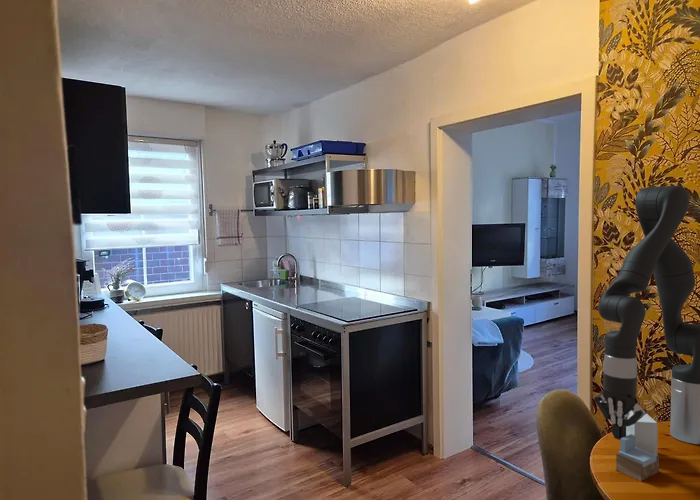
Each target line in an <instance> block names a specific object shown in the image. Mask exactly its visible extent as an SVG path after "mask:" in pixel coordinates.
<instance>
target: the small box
mask: <svg viewBox="0 0 700 500" xmlns="http://www.w3.org/2000/svg"><path fill="white" fill-rule="evenodd" d="M632 415H633V410H631V411H630V413H629V416H628V419H629V418H630V417H631V416H632ZM658 425H659V424H658V421H656V420H655V419H653V417H651V416H650V415H649V414H648V412H647V413H646V414H645V415H644V416H643V417H642V418H641V419H639V420H638V421H637V422H636V423H635V424H633V425H631V426H626V436H628V435H630V434H632V435H634V436H636V447H637V448H640V449H642V450H645V451H647V452H650V453H653V454H655V455H658V433H659V432H658V430H659V429H658V427H659V426H658Z"/></svg>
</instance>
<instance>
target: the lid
mask: <svg viewBox="0 0 700 500" xmlns="http://www.w3.org/2000/svg"><path fill="white" fill-rule="evenodd" d="M619 446H620V447H619V448H620V449H619V451H618V454H620V455H622V456H625V457H627V458H630V459H632V460H634V461H637V462H639V463H642V467H645V466H647V465H649V464H651V463H653V462H655V461H657V455H658V454H657V455H655V454H652V453H649V452H647V451H644V450H642V449H639V448H637V447H636V436H634V435H632V434H630V435H628V436H625V437H623V438H620V440H619Z"/></svg>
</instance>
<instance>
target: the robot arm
mask: <svg viewBox="0 0 700 500" xmlns="http://www.w3.org/2000/svg"><path fill="white" fill-rule="evenodd" d="M634 203H635V210H636V211H635V212H636V215H637V218H638V221H639V222H638V223H639V224H640V226H641V230H642V233H643V239H641V240H640V241H639V242H638V243H636V244H635V246H633V247H632V248H631V249H630V251H629V252H628V253H627V254H626V256H625V258H624V260H623V262H622V265H621V267H620V269H619V272H618V274H617V276H616V278H615V279H614V280H613V281H612V282H611V284H610V285H609V286H608V288H606V290H605V291H604V292H603V294H602V295H601V297H600V299H599V301H598V306H597V309H598V313H599V316H600V317H601V318H602V319H603V320H605V321H608V322H613V323H619V324H621V326H620V329H619V330H609V331H608V332H606V334H605V336H604V337H605V338H604V356H603V367H602V369H603V371H602V372H603V375H602V377H603V379H602V380H603V381H602V383H603V384H602V388H603V391H602V394H601V395H598V396H595V397H593V398H594V399H593V400H594V403H596V405H597V407H598V409H599V410H600V412H601V413H602V415H603V417H604V419H606V420H609V421H610V422H611V425H612V426H611V427H612V428H611V432H612V433H611V434H612V436H613V438H614V439H616V440H618V441H620V438H623V437H625V436H626V426H631V425H633V424H635V423H636V422H637V421H638V420H639V419H641V418H642V417H643V416H644V415H645V414H646V413H647V414H648V410H646V409H645V408H642V407H641V406H640V405H639V400H638V398H637V392H638V361H637V341H638V337H639V336H640V332H641V329H642V327H643V323H644V320H645V317H646V307H645V305H644V303H643V301H642V300H641V299H639V298H638V297H635V296H630V295H631V294H635V293H641V292H644V291H646V290H647V288H648V286H649V283H650V281H651V278H652V276H653V277H654V281H655V285H656V289H657V290H656V291H657V293H658V297H659V298H658V299H659V301H660V302H659V303H660V307H661V315H662V316H661V317H662V324H663V332H664V333H663V334H664V340H665V344H666V347H667V348H668V350H669V351H671V352H672V353H675V354H679V355H683V356H689V357H692V361H691V363H688V364H679V365H675V366H672V368H671V381H670V384H671V386H670V387H671V389H670V393H671V394H670V429H669V430H670V431H669V432H670V433H669V434H670V436H671V437H672V438H674V439H676V440H678V441H680V442H683V443H687V444H692V445H700V324H694V323H688V322H684V320H683V317H682V309H683V306H684V305H685V303H686V301H687V300H688V299H689V297H690V296H691V294H692V293H693V291H694V288H695V286H696V277H695V273H694V268H693V263H692V260H691V259H690V257H689V255H688V254H687V253H686V252H685V251H684V250H683V248H681V246H680V245H679V244H678V243H676V241H674V239H673V237H674V234H675V233H676V231H677V230H678V228H679V226H680V224H682V221H683V219H684V218H685V216H686V215H687V212H688V209H689V206H690V196H689V193H688V191H687V189H685V187H682V186H681V185H663V186H647V187H643V188H641V189H639V191H638V192H637V193H636V196H635V202H634ZM630 411H633V415H632V416H631V417H630V418H629V419H628V416H629V413H630Z"/></svg>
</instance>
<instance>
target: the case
mask: <svg viewBox="0 0 700 500" xmlns="http://www.w3.org/2000/svg"><path fill="white" fill-rule="evenodd" d="M639 449H640V448H639ZM644 451H645V450H644ZM649 453H650V452H649ZM652 454H653V453H652ZM659 460H660V456H659V455H658V454H657V461H655V462H653V463H651V464H649V465H647V466H645V467H642V463H639V462H637V461H634V460H632V459H630V458H627V457H625V456H622V455H620V454H619V453H616V461H615V462H616V463H615V465H616V466H615V467H616V468H615V470H616V472H619V473H621V474H623V475H625V476H628V477H631V478H633V479H635V480H637V481H639V482H642V481H644V480H647V479H648V478H651V477H652V476H654V475H656V474H658V473H659V471H660V470H659V469H660V463H659V462H660V461H659Z"/></svg>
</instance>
